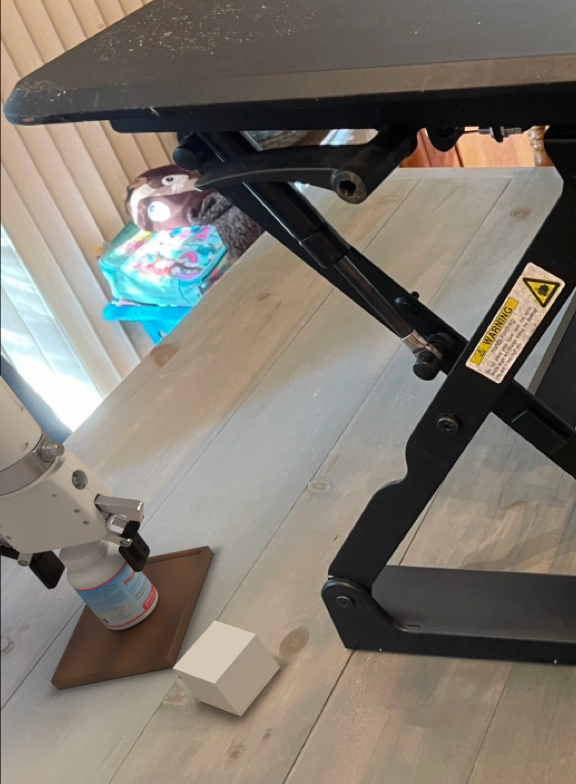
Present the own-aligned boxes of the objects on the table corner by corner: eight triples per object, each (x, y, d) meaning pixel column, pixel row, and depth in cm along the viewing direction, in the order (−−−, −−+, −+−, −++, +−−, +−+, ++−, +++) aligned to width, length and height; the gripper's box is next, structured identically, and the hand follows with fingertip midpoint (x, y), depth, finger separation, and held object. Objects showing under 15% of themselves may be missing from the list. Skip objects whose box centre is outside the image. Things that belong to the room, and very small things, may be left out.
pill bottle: (164, 611, 120) (114, 547, 113) (109, 641, 118) (54, 578, 111) (154, 578, 124) (105, 515, 117) (101, 607, 122) (48, 544, 115)
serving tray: (57, 689, 116) (49, 681, 115) (109, 573, 128) (102, 565, 127) (173, 667, 115) (166, 658, 114) (213, 553, 128) (208, 544, 127)
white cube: (239, 653, 115) (214, 619, 112) (280, 667, 113) (256, 633, 109) (199, 701, 111) (172, 667, 108) (240, 717, 109) (214, 683, 105)
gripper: (109, 420, 109) (187, 529, 120) (-54, 452, 109) (38, 558, 120) (82, 472, 103) (166, 582, 114) (-90, 506, 103) (9, 613, 114)
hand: (100, 570), depth 117 cm, fingers open, 9 cm apart
